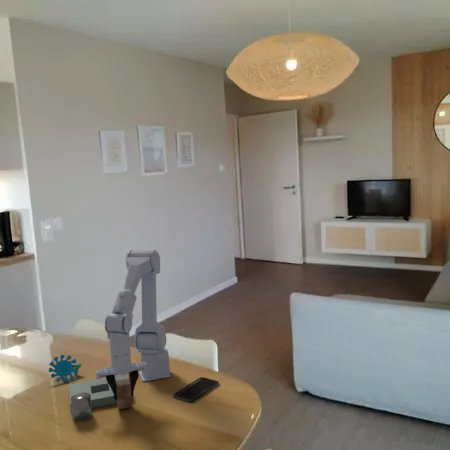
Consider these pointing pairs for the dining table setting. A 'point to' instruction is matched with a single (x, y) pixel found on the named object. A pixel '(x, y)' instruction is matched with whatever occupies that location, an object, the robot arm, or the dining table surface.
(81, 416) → the gunmetal plug
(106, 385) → the socket plate
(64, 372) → the teal spiky virus toy
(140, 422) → the dining table surface
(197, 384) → the phone
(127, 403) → the walnut peg
